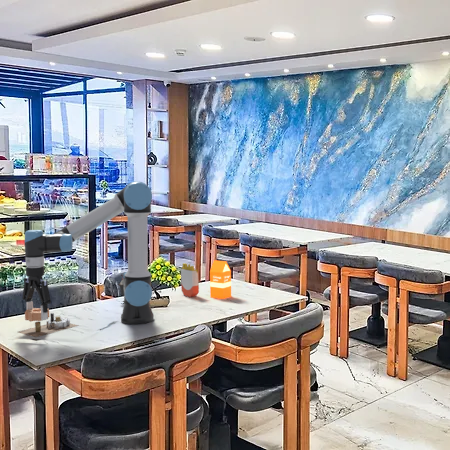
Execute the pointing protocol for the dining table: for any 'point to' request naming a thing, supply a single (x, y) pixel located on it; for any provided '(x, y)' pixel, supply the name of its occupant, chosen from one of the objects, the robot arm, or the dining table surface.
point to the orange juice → (220, 280)
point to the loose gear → (34, 314)
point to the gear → (59, 324)
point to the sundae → (122, 286)
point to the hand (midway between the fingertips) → (37, 318)
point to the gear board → (43, 329)
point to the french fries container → (189, 280)
